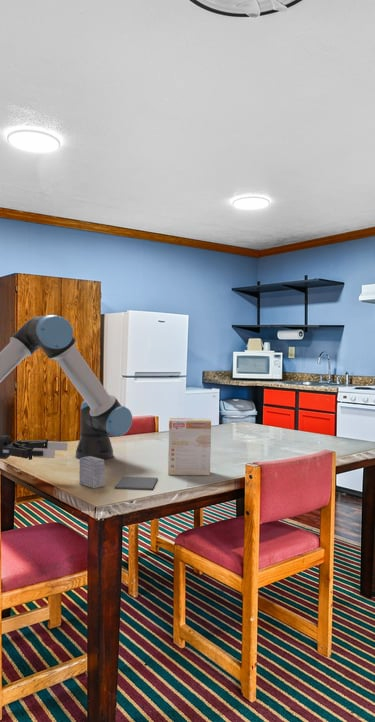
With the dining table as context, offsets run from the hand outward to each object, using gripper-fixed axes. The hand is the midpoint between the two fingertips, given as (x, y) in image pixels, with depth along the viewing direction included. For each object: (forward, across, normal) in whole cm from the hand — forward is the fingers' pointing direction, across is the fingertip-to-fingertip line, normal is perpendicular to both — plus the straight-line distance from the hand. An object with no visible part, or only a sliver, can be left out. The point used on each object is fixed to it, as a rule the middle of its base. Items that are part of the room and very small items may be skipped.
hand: (61, 449), depth 169 cm
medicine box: (+10, 0, -11) cm, 15 cm away
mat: (+24, -4, -11) cm, 27 cm away
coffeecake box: (+40, -22, -11) cm, 47 cm away
